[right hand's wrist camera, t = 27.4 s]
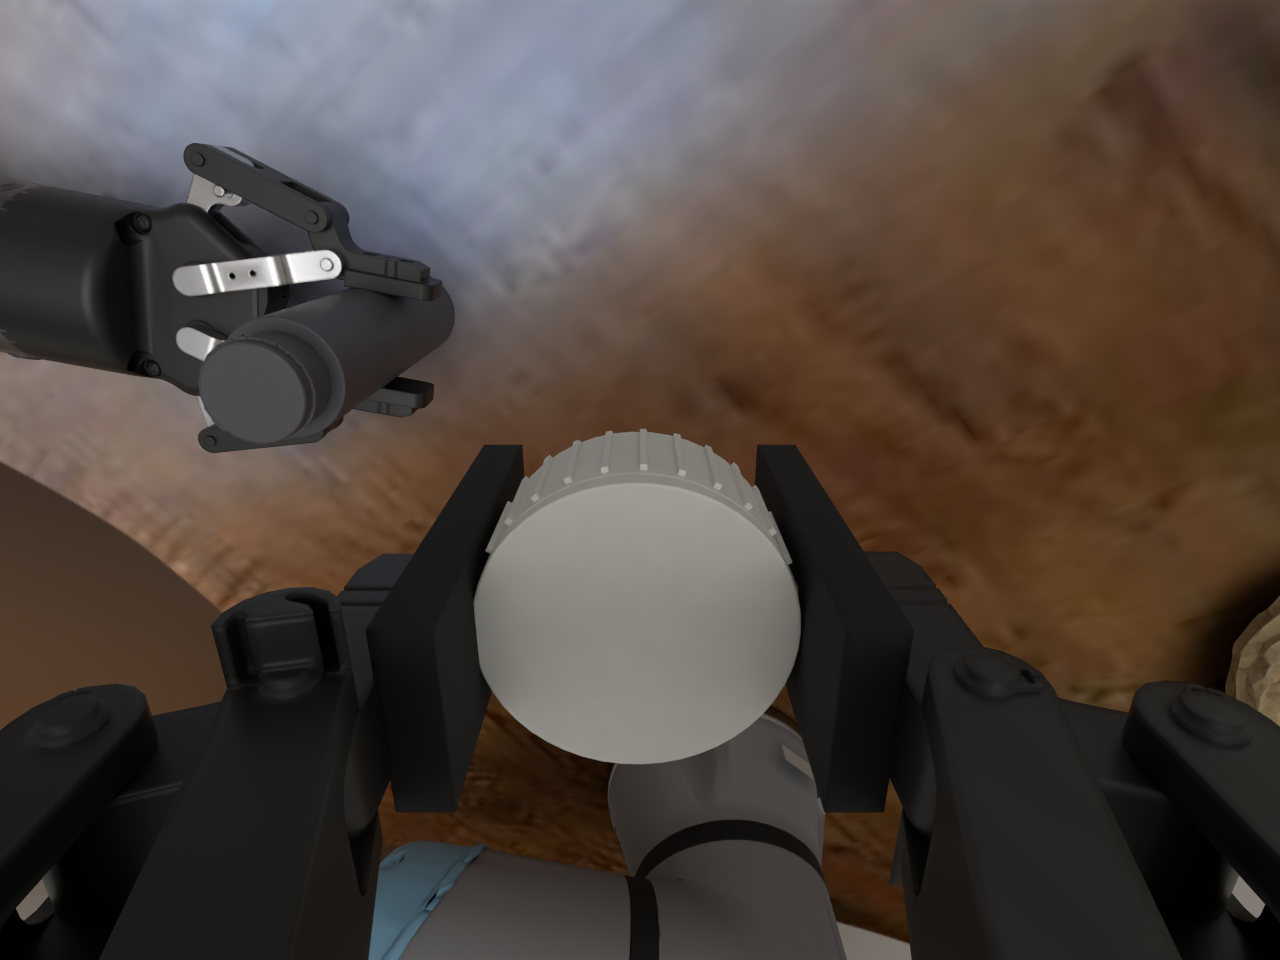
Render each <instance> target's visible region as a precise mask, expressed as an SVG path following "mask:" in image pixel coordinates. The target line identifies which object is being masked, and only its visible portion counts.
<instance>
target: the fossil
mask: <svg viewBox="0 0 1280 960" xmlns="http://www.w3.org/2000/svg"><path fill="white" fill-rule="evenodd" d="M1232 653H1233V654H1232V662H1231V666H1230V669H1229V673H1228V677H1227V681H1226V694H1227V695H1228V696H1231V697H1233V698H1235V699H1237V700H1240V701H1242V702H1244V703H1246V704H1248V705H1250V706H1251V707H1253V708H1254V709H1256V710H1257V711H1259V712H1260V713H1262V714H1263V715H1265V716H1266V717H1268V718H1269V719H1271V720H1272V721H1274V722H1275V723H1276V724H1277V725H1279V726H1280V596H1279V597H1278V598H1277V599H1276V600H1275V601H1274V602H1273V603H1272V605H1271V606H1270V607H1269V608H1268V609H1267V610H1265V611H1263V612H1261V613H1259V614H1258V615H1257V616H1256V617H1255V618H1254V619H1253V620H1252V622H1251V623H1250V624H1249V625H1248V626H1247V628H1246V629H1245V630H1244V631H1243V633H1242V634H1241V635H1240V636H1239V638H1238V639H1237V640H1236V642H1235V643H1234V645H1233V650H1232Z"/></svg>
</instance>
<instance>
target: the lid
mask: <svg viewBox="0 0 1280 960" xmlns="http://www.w3.org/2000/svg"><path fill="white" fill-rule="evenodd" d="M485 551H486V552H488V553H490V555H489V558H488V560H487V563H486V565H485V567H484V570H483V572H482V574H481V577H480V579H479V582H478V584H477V588H476V592H475V596H474V614H475V624H476V634H477V644H478V654H479V663H480V668H481V671H482V673H483V676H484V678H485V679H486V681H487V683H488V685H489V687H490V688H491V690H492V692H493V693H494V695H495V696H496V697H497V699H498V700H499V701H500V703H501V704H502V705H503V707H504V708H505V709H506V710H507V711H508V712H509V713H510V714H511V715H512V716H513V717H514V718H515V719H516V720H517V721H518V722H520V723H521V724H522V725H523V726H525V727H526V728H527V729H528V730H530V731H531V732H532V733H534V734H535V735H537V736H539V737H540V738H542V739H543V740H545V741H547V742H549V743H551V744H553V745H555V746H557V747H559V748H561V749H563V750H565V751H568V752H571V753H574V754H577V755H580V756H582V757H586V758H591V759H595V760H599V761H604V762H612V763H620V764H652V763H663V762H668V761H674V760H679V759H683V758H687V757H690V756H693V755H697V754H700V753H702V752H705V751H707V750H710V749H712V748H715V747H717V746H719V745H721V744H722V743H724V742H726V741H728V740H730V739H732V738H733V737H735V736H736V735H738V734H739V733H741V732H742V731H743V730H745V729H746V728H748V727H749V726H750V725H751V724H752V723H754V722H755V721H756V720H757V719H758V718H759V717H760V716H761V715H762V714H763V713H764V712H765V711H766V710H767V709H768V708H769V706H770V705H771V704H772V703H773V702H774V700H775V699H776V698H777V696H778V695H779V693H780V692H781V690H782V688H783V687H784V685H785V684H786V682H787V679H788V677H789V675H790V673H791V671H792V669H793V666H794V663H795V659H796V656H797V653H798V649H799V643H800V636H801V609H800V603H799V598H798V587H797V584H796V582H795V579H794V577H793V574H792V572H791V570H790V567H789V564H791V563H792V560H791V557H790V555H789V553H788V550H787V548H786V546H785V543H784V541H783V539H782V536H781V534H780V532H779V529H778V527H777V525H776V522H775V520H774V517H773V515H772V513H771V511H770V512H768V510H767V508H766V505H765V503H764V501H763V498H762V496H761V493H760V491H759V489H758V488H757V486H756V485H755V486H753V487H751V486H750V484H749V483H748V482H747V481H746V479H745V478H744V477H743V476H742V475H741V473H740V470H739V467H738V466H737V465H736V464H735V463H734V462H733V463H732V464H731V465H730V464H729V463H727V462H726V461H725V460H724V459H722V458H721V457H719V456H718V455H716V454H714V453H713V451H712V448H711V447H710V446H708V445H705V447H702V446H699V445H697V444H695V443H693V442H690V441H688V440H684V439H681V436H680V435H679V434H675V433H674V435H673V436H671V435H664V434H658V433H652V432H647V429H640V432H625V433H614V434H613V432H612V431H607V432H606V434H605V435H604V436H600V437H595V438H592V439H589V440H587V441H584V442H580V440H577V441H574V442H573V446H572V447H570V448H568V449H566V450H564V451H562V452H560V453H559V454H557V455H556V456H554V457H553V458H552V457H551V455H549V456H548V457H546V458H545V460H544V463H543V465H542V466H541V467H540V468H539V469H538V470H537V471H536V472H535V473H534V474H533V475H532V476H531V477H530V478H528V477H527V476H525V477H524V478H523V479H522V481H521V484H520V486H519V488H518V491H517V493H516V495H515V498H514V500H513V502H512V503H511V502H509V501H508V502H507V504H506V505H505V508H504V510H503V512H502V514H501V517H500V519H499V521H498V523H497V526H496V528H495V530H494V532H493V535H492V537H491V539H490V541H489V544H488V546H487V548H486V550H485Z"/></svg>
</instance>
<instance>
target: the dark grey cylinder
mask: <svg viewBox="0 0 1280 960" xmlns="http://www.w3.org/2000/svg"><path fill="white" fill-rule="evenodd" d="M429 278H431V277H429ZM432 279H433V278H432ZM453 324H454V308H453V304H452V301H451V299H450V297H449V295H448V293H447V292H446V290H445V289H444V288H443V287H442V289H441V297H440V298H438V299H436V300H434V301H421V300H416V299H410V298H405V297H400V296H394V295H389V294H384V293H379V292H373V291H369V290H364V289H357V288H350V289H347V290H344V291H341V292H337V293H334V294H331V295H328V296H325V297H321V298H318V299H315V300H312V301H308V302H305V303H302V304H299V305H296V306H292V307H289V308H286V309H283V310H280V311H276V312H273V313H270V314H267V315H263V316H260V317H257V318H254V319H251V320H249V321H247V322H245V323H243V324H241V325H240V326H239V327H237V328H236V329H235V330H234V331H233V332H232V333H231V334H230V335H229V337H228V338H227V340H226V341H224V342H222V343H220V344H218V345H217V346H215V347H214V348H213V349H212V350H211V351H210V352H209V353H208V354H207V356H206V358H205V360H204V362H203V363H202V365H201V367H200V374H199V379H198V384H199V391H200V393H199V395H200V398H201V400H202V402H203V405H204V409H205V410H206V412H207V413H208V415H209V416H210V417H211V419H212V421H213V422H214V423H215V424H216V425H217V426H218V427H219V428H220V429H221V430H222V431H227V432H228V433H230V434H231V435H233V436H235V437H237V438H239V439H242V440H245V441H248V442H252V443H260V444H268V443H275V442H279V441H282V440H288V439H290V438H303V437H308V436H312V435H315V434H317V433H319V432H321V431H323V430H325V429H326V428H327V427H329V426H330V425H332V424H333V423H334V422H336V421H337V420H338V419H340V418H341V417H343V416H344V415H345V414H347V413H348V412H349V411H351V410H352V409H353V408H355V407H356V406H358V405H359V404H360V403H362V402H363V401H364V400H366V399H367V398H368V397H370V396H371V395H373V394H374V393H375V392H377V391H378V390H379V389H381V388H382V387H384V386H385V385H386V384H388V383H389V382H390V381H392V380H393V379H394V378H396V377H397V376H399V375H400V374H401V373H403V372H404V371H405V370H407V369H408V368H409V367H411V366H412V365H414V364H415V363H416V362H418V361H419V360H420V359H422V358H423V357H425V356H426V355H427V354H429V353H430V352H431V351H433V350H434V349H435V348H437V347H438V346H440V345H441V344H442V343H443V342H444V341H445V340H446V339H447V338H448V336H449V335H450V333H451V331H452V328H453Z"/></svg>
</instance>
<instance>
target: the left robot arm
mask: <svg viewBox="0 0 1280 960" xmlns="http://www.w3.org/2000/svg"><path fill="white" fill-rule="evenodd" d="M184 161H185V164H186V166H187V167H188V169H189V170H190V171H191V172H193V173H194V175H193V178H192V182H191V186H190V190H189V194H188V197H187V201H186V203H178V204H174V205H172V206H170V207H167V208H159V207H153V206H148V205H143V204H138V203H133V202H128V201H122V200H117V199H112V198H107V197H102V196H96V195H91V194H86V193H81V192H76V191H70V190H65V189H60V188H55V187H49V186H44V185H39V184H34V183H29V182H24V181H18V180H13V179H8V178H3V177H0V352H4V353H8V354H9V355H12V356H13V357H18V358H24V359H32V360H41V359H43V360H49V361H55V362H61V363H66V364H72V365H77V366H83V367H89V368H94V369H100V370H106V371H111V372H117V373H122V374H128V375H134V376H141V377H149V378H157V379H162V380H165V381H167V382H169V383H171V384H173V385H175V386H176V387H178V388H179V389H181V390H182V391H184V392H186V393H188V394H190V395H194V396H196V398H197V401H198V403H199V406H200V409H201V412H202V415H203V417H204V420H205V423H206V426H207V428H205V429H203V430H202V431H201V432H200V433H199V435H198V441H199V444H200V445H201V447H202V448H203V449H205V450H206V451H208V452H211V453H218V452H228V451H237V450H247V449H256V448H266V447H275V446H285V445H295V444H304V443H314V442H317V441H319V440H321V439H322V438H323V437H324V436H325V435H326V434H327V433H328V432H330V431H331V430H332V429H335V428H336V427H338V426H339V425H340V424H341V423H342V422H343V417H341V418H340V419H338V420H337V421H336V422H334V423H333V424H332V425H330V426H329V427H327V428H326V429H325V430H323V431H321V432H319V433H317V434H315V435H312V436H308V437H303V438H290V439H288V440H282V441H279V442H275V443H268V444H260V443H252V442H248V441H245V440H242V439H239V438H237V437H235V436H233V435H231V434H230V433H228V432H227V431H222V430H221V429H220V428H219V427H218V426H217V425H216V424H215V423H214V422H213V421H212V419H211V417H210V416H209V415H208V413H207V412H206V410H205V409H204V405H203V402H202V400H201V398H200V395H199V393H200V391H199V384H198V379H199V374H200V367H201V365H202V363H203V362H204V360H205V358H206V356H207V354H208V353H209V352H210V351H211V350H212V349H213V348H214V347H215V346H217V345H218V344H220V343H222V342H224V341H226V340H227V338H228V337H229V335H230V334H231V333H232V332H233V331H234V330H235V329H236V328H237V327H239V326H240V325H241V324H243V323H245V322H247V321H249V320H251V319H254V318H257V317H260V316H263V315H267V314H270V313H273V312H276V311H280V310H283V309H286V305H287V302H288V298H289V284H294V283H302V282H311V281H319V280H328V279H334V278H336V279H341V280H344V286H347V287H352V288H357V289H364V290H369V291H373V292H379V293H384V294H389V295H394V296H400V297H405V298H410V299H416V300H421V301H434V300H436V299H438V298H440V297H441V289H442V281H440V280H437V279H432V278H429V274H430V268H429V267H427V266H426V265H424V264H423V263H421V262H419V261H415V260H409V259H404V258H399V257H394V256H388V255H383V254H378V253H373V252H368V251H364V250H362V249H360V248H359V247H358V246H356V244H355V243H354V242H353V240H352V238H351V235H350V232H349V229H348V223H349V214H348V211H347V210H346V208H345V207H344V206H343V205H342V204H340V203H338V202H336V201H334V200H332V199H330V198H328V197H326V196H325V195H323V194H321V193H319V192H317V191H315V190H313V189H311V188H309V187H307V186H305V185H303V184H301V183H299V182H298V181H296V180H294V179H292V178H290V177H288V176H286V175H284V174H282V173H280V172H278V171H276V170H274V169H272V168H271V167H269V166H267V165H265V164H263V163H261V162H259V161H257V160H255V159H253V158H251V157H249V156H247V155H245V154H244V153H242V152H240V151H238V150H236V149H234V148H231V147H223V146H215V145H207V144H199V143H193V144H190V145H188V146H187V147H186V149H185V151H184ZM250 203H253V204H255V205H257V206H259V207H261V208H263V209H265V210H267V211H269V212H271V213H273V214H275V215H277V216H279V217H281V218H283V219H285V220H287V221H289V222H291V223H293V224H295V225H297V226H299V227H301V228H303V229H305V230H307V231H308V234H309V237H310V240H311V243H312V246H313V250H309V251H300V252H291V253H283V254H274V255H267V254H266V253H264V252H263V251H262V250H261V249H260V248H259V247H258V246H257V245H256V244H255V243H253V242H252V241H251V240H250V239H249V238H248V237H247V236H246V235H245V234H244V233H243V232H241V231H240V230H239V229H238V228H237V227H236V226H235V225H234V224H233V223H232V222H231V221H229V220H228V219H227V218H226V217H225V216H224V215H223V214H222V213H221V212H220V209H221V208H222V207H223V206H224V205H226V206H246V205H248V204H250ZM433 393H434V385H433V384H432V383H428V382H423V381H418V380H413V379H407V378H402V377H396V378H394V379H393V380H392V381H390V382H389V383H388V384H386V385H385V386H384V387H382V388H381V389H379V390H378V391H377V392H375V393H374V394H373V395H371V396H370V397H368V398H367V399H366V400H364V401H363V402H362V403H360V404H359V405H358V406H356V407H355V408H353V409H356V410H362V411H368V412H373V413H380V414H385V415H390V416H396V417H405V416H410V415H412V414H413V413H414V412H415V411H416V410H417V409H418V408H424V407H426V406H427V405H428V404H429V403H430V402H431V401H432V400H433Z"/></svg>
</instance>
